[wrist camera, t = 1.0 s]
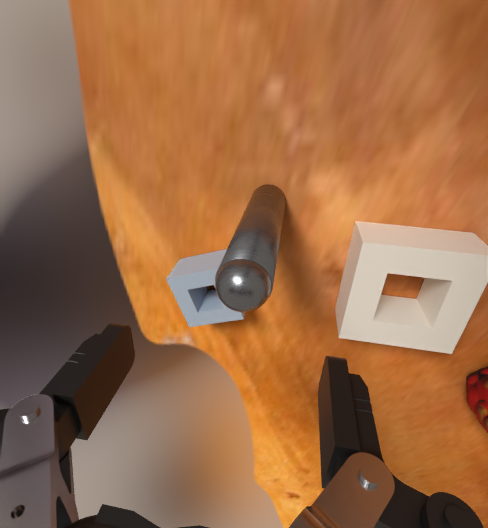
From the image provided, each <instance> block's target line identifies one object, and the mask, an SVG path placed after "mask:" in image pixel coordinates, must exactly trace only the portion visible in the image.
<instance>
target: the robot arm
mask: <svg viewBox="0 0 488 528" xmlns="http://www.w3.org/2000/svg"><path fill="white" fill-rule="evenodd" d="M134 358H135V351H134V345H133V340H132V333H131V328H130V327H129V326H126V325H120V324H113V323H111V324H109V325H108V326H107V327H106V328H105V329H104V331H103V332H102V333H101V334H95V335H93V336H92V337H90V338H89V339H87V340H86V341H84V342H83V343H82V344H81V346H80V347H79V348H78V349H77V350H76V351H75V354H73V355H72V356H71V357H70V358H69V360H68V362H66V363H65V364H64V366H63V367H62V368H61V369H60V370H59V371H58V373H57V374H56V375H55V376H54V377H53V378H52V380H51V381H50V382H49V383H48V384H47V385H46V387H45V388H44V389H43V390H42V391H41V392H40V393H39V394H37V395H32V396H29V397H26V398H24V399H22V400H20V401H19V402H18V403H16V404H15V405H14V406H13V407H12V408H10V409H2V410H0V528H160V527H158V526H156V525H155V524H153V523H152V522H150V521H148V520H147V519H145V518H144V517H142V516H140V515H139V514H137V513H136V512H134V511H131V510H126V509H122V508H117V507H113V506H108V505H104V504H102V506H101V508H100V510H99V513H98V514H97V515H94V516H90V517H86V518H83V519H80V520H79V517H78V512H77V508H76V504H75V495H74V482H73V467H72V453H71V448H70V447H71V445H72V443H73V442H74V440H75V439H76V438H78V439H83V440H88V438H89V436H90V435H91V433H92V431H93V430H94V428H95V426H96V425H97V423H98V421H99V420H100V418H101V417H102V415H103V413H104V412H105V410H106V408H107V407H108V405H109V403H110V402H111V400H112V398H113V397H114V395H115V394H116V392H117V390H118V389H119V387H120V385H121V384H122V382H123V380H124V379H125V377H126V375H127V374H128V372H129V370H130V369H131V367H132V365H133V362H134ZM318 407H319V431H320V454H321V478H322V488H325V489H324V490H323V491H322V493H321V494H320V495H319V497H318V498H317V499H316V501H315V502H314V503H313V504H312V505H311V506H310V507H309V506H308V507H306V508H305V509H304V510H303V511H302V512H301V513H300V514H299V515H298V517H297V518H296V519H295V520H294V522H293V523H292V524H291V526H290V527H289V528H483V525H482V523H481V521H480V520H479V518H478V516H477V515H476V514H475V512H474V511H473V510H472V509H471V508H470V507H469V506H468V505H467V504H466V503H465V502H463V501H462V500H461V499H459V498H457V497H456V496H454V495H451V494H448V493H444V492H438V493H434V494H432V495H431V496H430V497H429V496H427V495H425V494H423V493H421V492H419V491H417V490H415V489H413V488H411V487H409V486H407V485H406V484H404V483H402V482H401V481H400V480H398V479H397V478H396V477H395V476H394V475H393V474H392V473H391V472H390V470H389V469H388V467H387V466H386V465H385V463H384V461H383V458H382V455H381V451H380V446H379V441H378V436H377V431H376V426H375V422H374V417H373V414H372V407H371V403H370V397H369V392H368V387H367V386H366V384H365V383H364V381H363V380H362V378H361V377H360V375H356V374H349V372H348V366H347V360H346V359H345V358H338V357H331V356H326V357H325V361H324V365H323V369H322V374H321V378H320V382H319V390H318ZM180 528H208V527H204V526H190V527H180Z"/></svg>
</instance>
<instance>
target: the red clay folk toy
mask: <svg viewBox="0 0 488 528" xmlns="http://www.w3.org/2000/svg"><path fill="white" fill-rule="evenodd" d="M467 392H468V394H467V401H468V404H469V406H470V407H471V409H472V410H473V412H474V413H475V414H476V416H477V418H478V420H479V422H480V423H481V425H482V426H483V427H484V429H485V430H486V431H487V432H488V367H486V368H483V369H480V370H478V371H476V372H473V373H471V374H470V375H468V377H467Z"/></svg>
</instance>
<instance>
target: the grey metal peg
mask: <svg viewBox="0 0 488 528" xmlns="http://www.w3.org/2000/svg"><path fill="white" fill-rule="evenodd" d="M285 205H286V198H285V195H284V193H283V192H282V190H281V189H279V188H278V187H276V186H274V185H263V186H260V187H258V188H257V189H256V190H255V191H254V193H253V195H252V197H251V199H250V201H249V203H248V205H247V208H246V210H245V212H244V214H243V216H242V218H241V221H240V223H239V225H238V227H237V229H236V231H235V234H234V236H233V238H232V240H231V242H230V244H229V246H228V249H227V251H226V253H225V255H224V257H223V259H222V262H221V264H220V266H219V268H218V270H217V273H216V276H215V288H216V293H217V295H218V297H219V299H220V301H221V302H222V303H223V304H224V305H225V306H226V307H228V308H229V309H231V310H233V311H237V312H250V311H253V310H256V309H258V308H259V307H261V306H262V305H263V304H264V303H265V302H266V300H267V299H268V298H269V296H270V294H271V292H272V288H273V281H274V275H275V269H276V262H277V256H278V250H279V243H280V237H281V231H282V224H283V218H284V212H285Z"/></svg>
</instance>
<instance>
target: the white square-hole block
mask: <svg viewBox="0 0 488 528" xmlns="http://www.w3.org/2000/svg"><path fill="white" fill-rule="evenodd" d="M387 273H390V274H399V275H407V276H416V277H424V281H423V283H422V286H421V289H420V291H419V294H418V297H417V299H412V298H404V297H396V296H388V295H381V293H382V289H383V286H384V283H385V280H386V277H387ZM487 283H488V245H487V244H485V243H484V242H483V241H482V240H481V239H480V238H479V237H478V236H477V235H475V234H474V233H471V232H461V231H451V230H441V229H431V228H421V227H411V226H401V225H391V224H381V223H371V222H361V221H355V224H354V229H353V233H352V237H351V242H350V246H349V250H348V255H347V259H346V263H345V268H344V272H343V276H342V281H341V285H340V289H339V294H338V298H337V302H336V307H335V313H336V321H337V328H338V336H339V338H343V339H350V340H357V341H364V342H371V343H378V344H385V345H392V346H399V347H406V348H413V349H420V350H427V351H434V352H441V353H448V354H452V352H453V350H454V348H455V346H456V344H457V342H458V340H459V338H460V337H461V335H462V333H463V331H464V329H465V327H466V325H467V323H468V321H469V319H470V317H471V315H472V313H473V311H474V309H475V307H476V305H477V303H478V301H479V299H480V297H481V295H482V293H483V291H484V289H485V287H486V285H487Z"/></svg>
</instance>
